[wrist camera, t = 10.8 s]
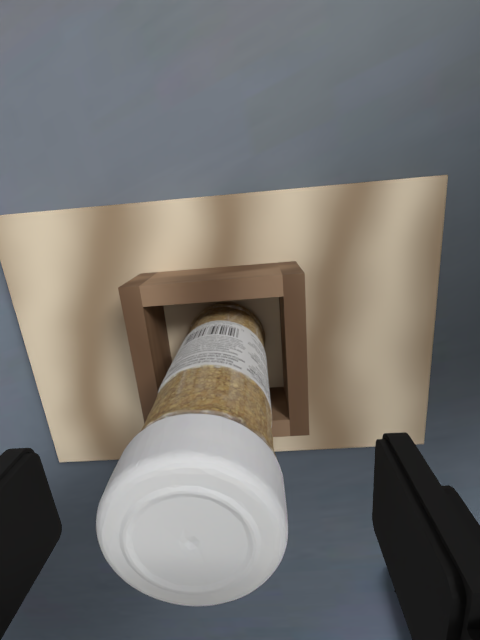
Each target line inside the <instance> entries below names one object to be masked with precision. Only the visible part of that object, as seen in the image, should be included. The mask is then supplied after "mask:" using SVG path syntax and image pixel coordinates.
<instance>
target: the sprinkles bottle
mask: <svg viewBox="0 0 480 640" xmlns="http://www.w3.org/2000/svg"><path fill="white" fill-rule="evenodd" d="M264 348H265V332H264V329H263V326H262V324H261V322H260V321H259V320H258V318H257V317H256V316H255V315H254V314H253V313H252V312H251V311H249V310H248V309H246V308H244V307H242V306H240V305H237V304H230V303H224V304H215V305H213V306H210V307H208V308H206V309H204V310H203V311H202V312H201V313H199V315H198V316H196V317H195V318H194V320H193V322H192V323H191V325H190V328H189V331H188V335H187V336H186V338H185V339H184V341H183V343H182V345H181V346H180V348H179V350H178V352H177V354H176V356H175V358H174V360H173V362H172V364H171V366H170V368H169V370H168V372H167V374H166V376H165V378H164V379H163V381H162V383H161V385H160V388H159V391H158V394H157V398H156V401H155V403H154V405H153V407H152V409H151V411H150V413H149V415H148V417H147V420H146V422H145V424H144V426H143V428H142V430H141V431H140V433H138V434H137V435H136V436H135V437H134V438H133V439H132V440H131V442H130V443H129V444H128V445H127V447H126V448H125V449H124V451H123V453H122V455H121V457H120V459H119V461H118V463H117V465H116V467H115V469H114V471H113V473H112V475H111V477H110V479H109V481H108V484H107V486H106V488H105V490H104V493H103V495H102V497H101V500H100V502H99V505H98V509H97V516H96V532H97V538H98V542H99V545H100V548H101V550H102V553H103V555H104V557H105V559H106V561H107V562H108V563H109V565H110V566H111V567H112V569H113V570H114V571H115V572H116V573H117V574H118V575H119V576H120V577H121V578H122V579H123V580H124V581H125V582H127V583H128V584H129V585H130V586H132V587H134V588H135V589H137V590H139V591H140V592H142V593H144V594H146V595H148V596H151V597H153V598H155V599H158V600H161V601H165V602H169V603H172V604H179V605H185V606H208V605H216V604H221V603H225V602H229V601H233V600H236V599H238V598H241V597H243V596H245V595H247V594H249V593H251V592H252V591H254V590H255V589H257V588H258V587H259V586H261V585H262V584H263V583H264V582H265V581H266V580H267V579H268V578H269V577H270V576H271V575H272V574H273V573H274V571H275V570H276V568H277V567H278V565H279V564H280V562H281V560H282V557H283V555H284V552H285V549H286V546H287V540H288V518H287V506H286V497H285V489H284V480H283V474H282V471H281V468H280V465H279V463H278V461H277V458H276V455H275V452H274V447H273V435H272V429H271V428H272V409H271V400H270V390H269V380H268V369H267V358H266V353H265V350H264Z"/></svg>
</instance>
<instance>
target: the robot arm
mask: <svg viewBox="0 0 480 640" xmlns="http://www.w3.org/2000/svg"><path fill="white" fill-rule="evenodd" d="M372 520H373V526H374V531H375V534H376V537H377V539H378V542H379V545H380V548H381V551H382V554H383V557H384V559H385V562H386V565H387V568H388V571H389V574H390V577H391V579H392V582H393V585H394V588H395V591H396V594H397V597H398V599H399V602H400V605H401V608H402V611H403V614H404V617H405V619H406V622H407V625H408V628H409V631H410V634H411V637H412V639H413V640H480V525H479V524H478V522H477V521H476V519H475V518H474V517H473V515H472V514H471V512H470V511H469V509H468V508H467V506H466V505H465V503H464V502H463V500H462V499H461V497H460V496H459V494H458V493H457V492H456V491H455V489H454V488H452V487H451V486H441V484H440V483H439V481H438V480H437V478H436V477H435V475H434V473H433V472H432V470H431V469H430V467H429V466H428V464H427V462H426V461H425V459H424V458H423V456H422V455H421V453H420V451H419V450H418V448H417V447H416V445H415V444H414V442H413V440H412V439H411V437H410V436H409V435H408V433H406V432H402V433H384V434H383V437H382V439H377V440H376V445H375V468H374V490H373V512H372ZM61 530H62V525H61V521H60V518H59V515H58V512H57V509H56V506H55V503H54V500H53V497H52V494H51V491H50V487H49V484H48V481H47V478H46V475H45V472H44V469H43V466H42V463H41V460H40V457H39V455H38V454H37V453H35V452H34V451H33V450H32V449H31V448H18V449H8V450H6V451H5V452H4V453H3V454H2V455H1V456H0V640H1V638H2V637H3V635H4V633H5V632H6V630H7V628H8V626H9V625H10V623H11V621H12V619H13V618H14V616H15V614H16V613H17V611H18V609H19V607H20V606H21V604H22V602H23V600H24V599H25V597H26V595H27V594H28V592H29V590H30V588H31V587H32V585H33V583H34V581H35V580H36V578H37V576H38V575H39V573H40V571H41V569H42V568H43V566H44V564H45V562H46V561H47V559H48V557H49V556H50V554H51V552H52V550H53V549H54V547H55V545H56V543H57V542H58V540H59V538H60V535H61Z"/></svg>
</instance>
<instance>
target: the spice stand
mask: <svg viewBox="0 0 480 640" xmlns="http://www.w3.org/2000/svg"><path fill="white" fill-rule="evenodd" d="M447 181H448V175H440V176H429V177H418V178H407V179H396V180H385V181H374V182H362V183H351V184H340V185H329V186H318V187H307V188H296V189H285V190H274V191H263V192H252V193H241V194H230V195H219V196H208V197H197V198H186V199H175V200H164V201H153V202H141V203H130V204H119V205H108V206H97V207H86V208H75V209H64V210H53V211H42V212H31V213H20V214H9V215H0V261H1V264H2V268H3V271H4V274H5V278H6V281H7V285H8V288H9V292H10V295H11V298H12V302H13V305H14V309H15V312H16V315H17V319H18V322H19V326H20V329H21V333H22V336H23V339H24V343H25V346H26V350H27V353H28V356H29V360H30V363H31V367H32V370H33V374H34V377H35V380H36V384H37V387H38V391H39V394H40V398H41V401H42V404H43V408H44V411H45V415H46V418H47V421H48V425H49V428H50V432H51V435H52V439H53V442H54V445H55V449H56V452H57V456H58V459H59V462H77V461H97V460H117V459H120V457H121V455H122V453H123V451H124V449H125V448H126V447H127V445H128V444H129V443H130V442H131V440H132V439H133V438H134V437H135V436H136V435H137V434H138V433H140V431H141V430H142V428H143V426H144V424H145V422H146V420H147V417H148V415H149V413H150V411H151V409H152V407H153V405H154V403H155V401H156V398H157V394H158V391H159V388H160V385H161V383H162V381H163V379H164V378H165V376H166V374H167V372H168V370H169V368H170V366H171V364H172V362H173V360H174V358H175V356H176V354H177V352H178V350H179V348H180V346H181V345H182V343H183V341H184V339H185V338H186V336H187V335H188V331H189V328H190V325H191V323H192V322H193V320H194V318H195V317H196V316H198V315H199V313H201V312H202V311H203V310H204V309H206V308H208V307H210V306H213V305H215V304H224V303H230V304H237V305H240V306H242V307H244V308H246V309H248V310H249V311H251V312H252V313H253V314H254V315H255V316H256V317H257V318H258V320H259V321H260V322H261V324H262V326H263V329H264V332H265V348H264V350H265V353H266V358H267V369H268V380H269V390H270V400H271V409H272V428H271V429H272V435H273V447H274V452H275V451H295V450H315V449H335V448H355V447H374V446H375V445H376V440H377V439H382V437H383V434H384V433H402V432H406V433H408V435H409V436H410V437H411V439H412V440H413V442H414V444H424V437H425V426H426V415H427V404H428V393H429V381H430V370H431V359H432V348H433V337H434V326H435V315H436V303H437V292H438V281H439V270H440V259H441V248H442V236H443V225H444V214H445V203H446V192H447Z"/></svg>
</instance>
